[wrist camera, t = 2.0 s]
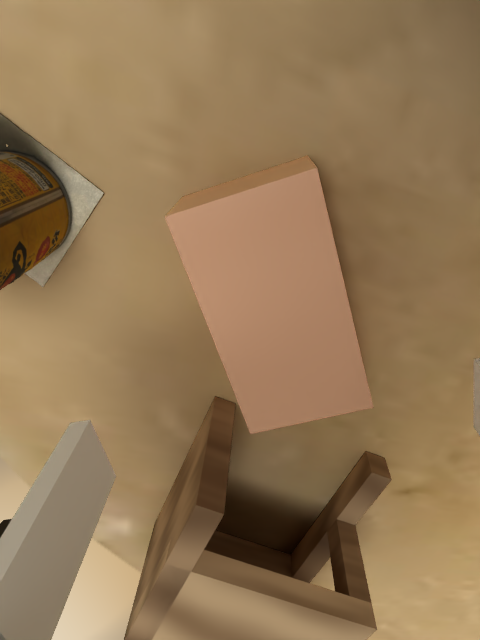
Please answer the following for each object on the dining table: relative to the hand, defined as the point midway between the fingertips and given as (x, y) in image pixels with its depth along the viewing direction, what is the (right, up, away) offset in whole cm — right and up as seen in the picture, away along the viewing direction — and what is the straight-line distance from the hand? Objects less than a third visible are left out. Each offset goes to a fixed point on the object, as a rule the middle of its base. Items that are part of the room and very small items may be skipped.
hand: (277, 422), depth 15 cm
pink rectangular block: (+1, +6, +11) cm, 13 cm away
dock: (0, -10, +18) cm, 21 cm away
